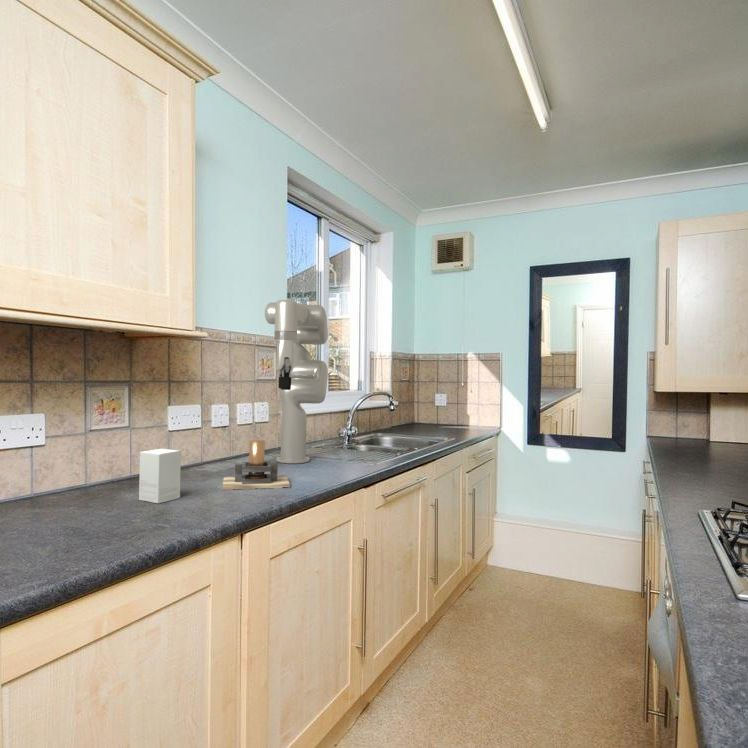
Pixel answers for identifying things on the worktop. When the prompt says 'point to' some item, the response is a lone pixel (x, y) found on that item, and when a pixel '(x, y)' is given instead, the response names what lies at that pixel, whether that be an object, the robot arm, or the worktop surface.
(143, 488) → the supplement box
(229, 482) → the collar stand
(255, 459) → the tube
